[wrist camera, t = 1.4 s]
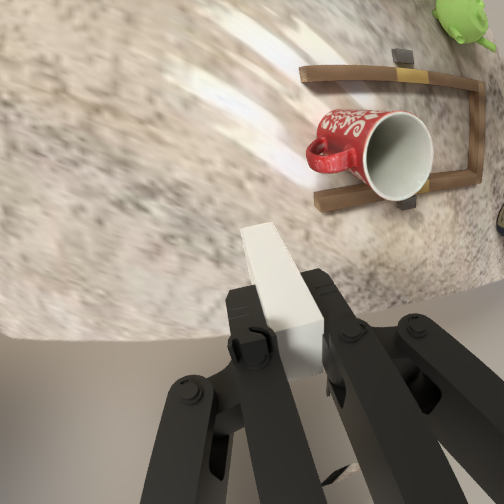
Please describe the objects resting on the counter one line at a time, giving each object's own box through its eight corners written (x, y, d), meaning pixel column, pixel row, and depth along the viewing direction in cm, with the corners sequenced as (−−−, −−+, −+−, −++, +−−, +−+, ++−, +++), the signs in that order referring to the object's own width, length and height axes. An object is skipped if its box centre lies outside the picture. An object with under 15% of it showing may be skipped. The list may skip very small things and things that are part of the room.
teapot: (460, -2, 23) (494, -5, 16) (472, 53, 29) (507, 57, 22) (417, -18, 23) (452, -27, 15) (431, 43, 29) (469, 43, 21)
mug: (366, 99, 33) (434, 110, 21) (371, 161, 38) (433, 194, 26) (278, 108, 32) (320, 117, 21) (288, 176, 37) (330, 217, 26)
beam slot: (295, 45, 28) (301, 42, 26) (472, 65, 30) (482, 66, 28) (315, 224, 41) (322, 232, 39) (470, 192, 43) (479, 197, 41)
